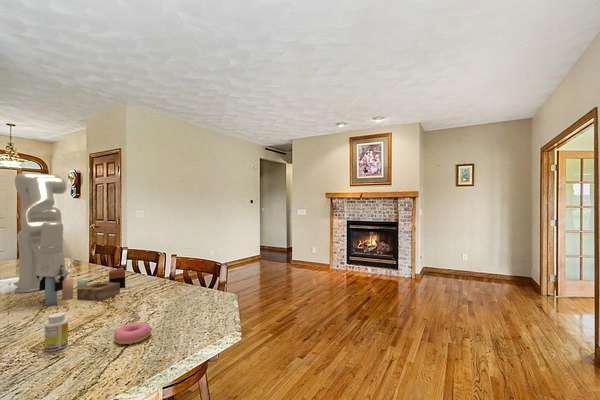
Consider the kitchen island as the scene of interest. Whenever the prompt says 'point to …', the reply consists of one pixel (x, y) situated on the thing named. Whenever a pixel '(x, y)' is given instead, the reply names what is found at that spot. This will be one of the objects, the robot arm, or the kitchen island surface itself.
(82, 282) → the short dowel
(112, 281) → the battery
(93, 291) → the hole block
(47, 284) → the tall dowel
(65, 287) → the medium dowel
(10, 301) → the kitchen island surface
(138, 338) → the doughnut
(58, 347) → the supplement bottle
